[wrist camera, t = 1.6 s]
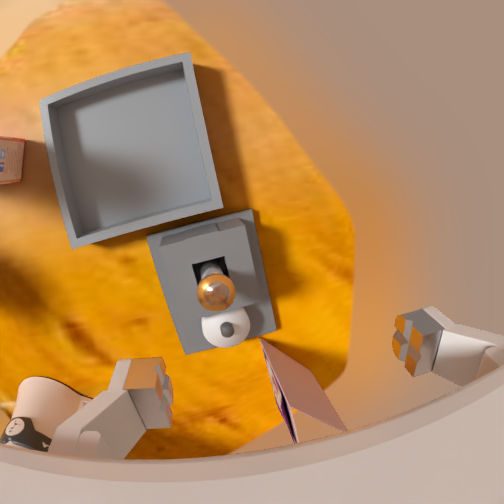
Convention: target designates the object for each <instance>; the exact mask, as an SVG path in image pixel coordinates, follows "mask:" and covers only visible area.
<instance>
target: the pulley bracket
mask: <svg viewBox="0 0 504 504" xmlns="http://www.w3.org/2000/svg"><path fill="white" fill-rule="evenodd" d="M146 238H147V241H148V244H149V248H150V251H151V255H152V258H153V261H154V265H155V268H156V271H157V274H158V277H159V280H160V284H161V287H162V290H163V293H164V296H165V299H166V302H167V305H168V308H169V311H170V314H171V316H172V319H173V322H174V325H175V328H176V331H177V333H178V336H179V339H180V341H181V344H182V347H183V350H184V352H185V355H187V354H191V353H195V352H200V351H204V350H208V349H212V348H215V347H222V348H227V347H233V346H235V345H238V344H239V343H241V342H242V341H243V340H245V339H249V338H253V337H256V336H260V335H263V334H267V333H270V332H273V331H277V329H276V324H275V320H274V315H273V310H272V305H271V300H270V295H269V290H268V285H267V280H266V275H265V270H264V265H263V261H262V256H261V251H260V246H259V241H258V236H257V231H256V227H255V222H254V217H253V212H252V209H246V210H242V211H238V212H234V213H230V214H226V215H222V216H218V217H214V218H210V219H206V220H202V221H198V222H194V223H190V224H186V225H182V226H179V227H175V228H171V229H167V230H163V231H160V232H156V233H152V234H149V235H147V236H146ZM215 258H218V260H219V263H220V266H221V269H222V272H223V275H225V276H227V277H229V278H230V279H231V280H232V282H233V284H234V286H235V289H236V296H235V300H234V302H233V303H232V304H231V305H230V306H229V307H228V308H227V309H225V310H222V311H210V310H207V309H205V308H204V307H203V306H202V305H201V304H200V303H199V301H198V297H197V287H198V284H199V283H200V281H201V274H200V267H199V262H203V261H207V260H211V259H215Z"/></svg>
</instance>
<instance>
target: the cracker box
mask: <svg viewBox="0 0 504 504" xmlns="http://www.w3.org/2000/svg"><path fill="white" fill-rule="evenodd" d="M24 146H25V139H19V138H12V137H3V136H0V184H7V183H14V182H20V181H21V177H22V164H23V155H24Z"/></svg>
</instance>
